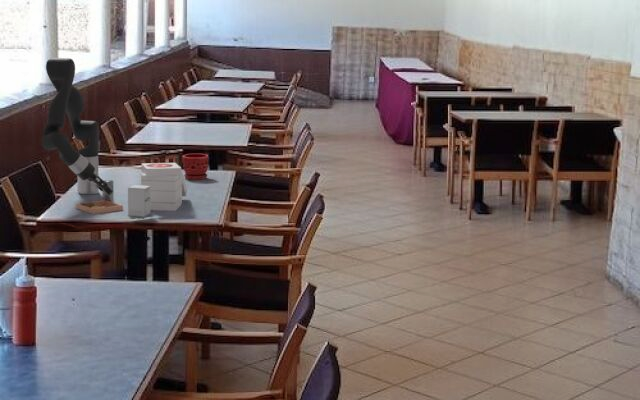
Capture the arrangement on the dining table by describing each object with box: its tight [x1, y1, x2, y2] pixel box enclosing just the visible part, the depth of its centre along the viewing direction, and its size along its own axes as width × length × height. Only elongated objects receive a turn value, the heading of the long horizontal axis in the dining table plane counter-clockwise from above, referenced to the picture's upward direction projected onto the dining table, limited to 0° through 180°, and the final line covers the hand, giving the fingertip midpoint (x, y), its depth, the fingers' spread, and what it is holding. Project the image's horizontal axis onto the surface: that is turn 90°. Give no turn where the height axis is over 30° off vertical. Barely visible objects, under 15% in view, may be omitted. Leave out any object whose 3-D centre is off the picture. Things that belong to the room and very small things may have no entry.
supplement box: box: [127, 184, 151, 220], centre depth 415 cm, size 7×7×13 cm
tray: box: [75, 199, 124, 215], centre depth 424 cm, size 14×14×3 cm
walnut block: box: [80, 201, 94, 208], centre depth 423 cm, size 4×4×2 cm
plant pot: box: [181, 153, 210, 181], centre depth 510 cm, size 13×13×12 cm
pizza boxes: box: [140, 162, 188, 212], centre depth 442 cm, size 19×30×18 cm, turn 177°
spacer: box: [102, 179, 115, 203], centre depth 435 cm, size 5×5×11 cm
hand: (107, 191), depth 434 cm, fingers open, 8 cm apart
